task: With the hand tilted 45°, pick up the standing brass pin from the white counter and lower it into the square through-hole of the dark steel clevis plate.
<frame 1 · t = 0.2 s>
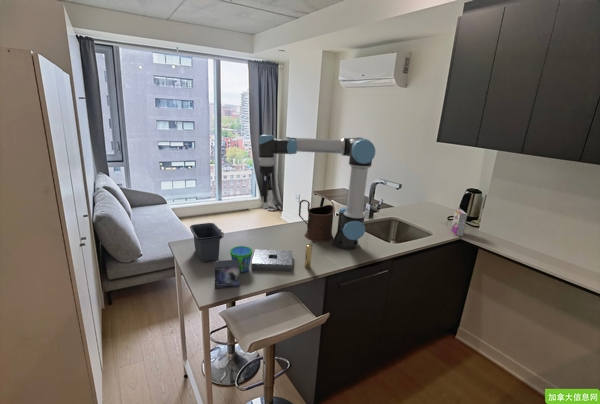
hand: (267, 204, 163), 27 cm above the worktop, tool pointing down, fingers open, 13 cm apart
small box: (227, 284, 136), on the worktop
candy bar box: (456, 233, 217), on the worktop
brown metal pitcher: (315, 237, 195), on the worktop
storage bin: (208, 254, 163), on the worktop
snack cup: (241, 269, 149), on the worktop
clevis plate: (272, 262, 157), on the worktop
brass pin: (307, 267, 155), on the worktop
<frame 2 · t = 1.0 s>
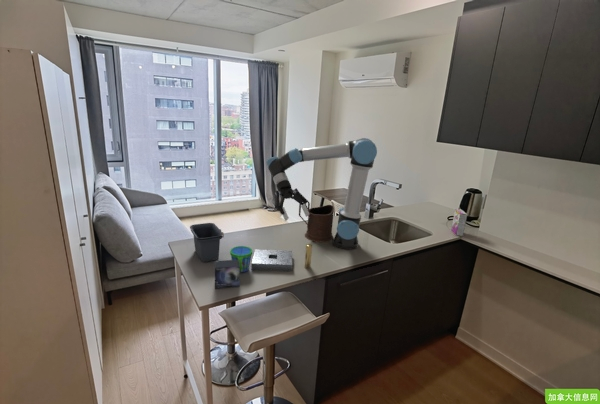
hand: (297, 217, 157), 24 cm above the worktop, tool tilted 45°, fingers open, 13 cm apart
nothing on the worktop moved.
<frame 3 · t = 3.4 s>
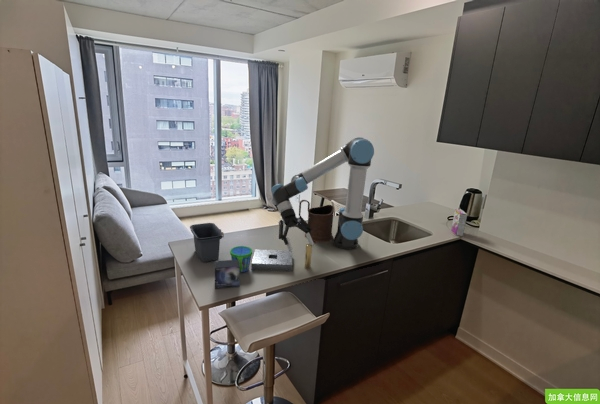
hand: (301, 247, 155), 9 cm above the worktop, tool tilted 45°, fingers open, 13 cm apart
nothing on the worktop moved.
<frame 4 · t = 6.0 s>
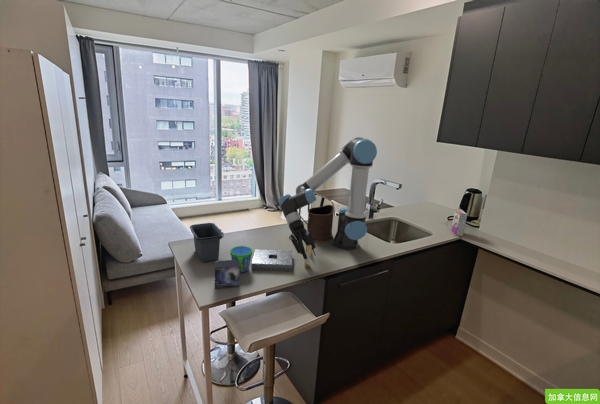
hand: (312, 263, 151), 4 cm above the worktop, tool tilted 45°, fingers closed on brass pin, 3 cm apart
brass pin: (307, 267, 155), on the worktop, touching gripper
everything else where it was.
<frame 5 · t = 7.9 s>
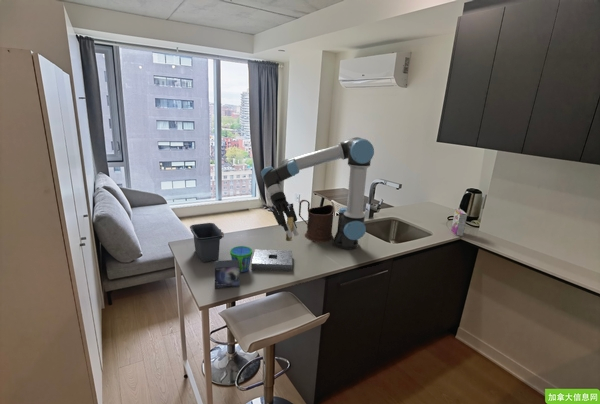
hand: (293, 235, 148), 18 cm above the worktop, tool tilted 45°, fingers closed on brass pin, 3 cm apart
brass pin: (288, 239, 152), point 14 cm above the worktop, touching gripper
everything else where it was.
when the fingers open (6 cm above the worktop, at t = 10.1 s): brass pin drops 2 cm, resting in clevis plate.
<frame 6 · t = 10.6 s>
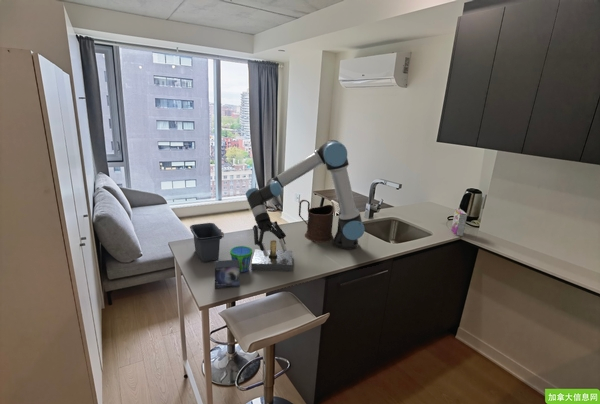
hand: (276, 253, 153), 7 cm above the worktop, tool tilted 45°, fingers open, 10 cm apart
brass pin: (272, 262, 157), resting in clevis plate
everything else where it was.
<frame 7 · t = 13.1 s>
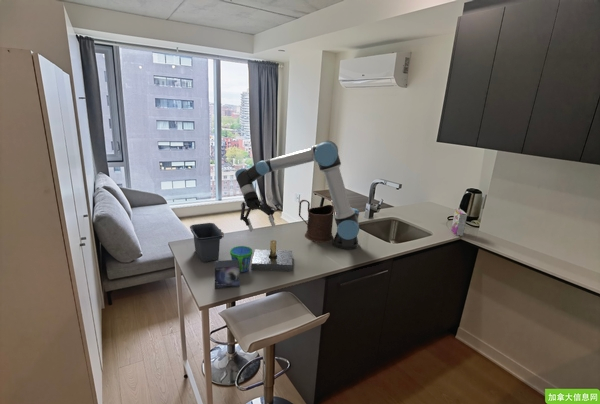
hand: (263, 228, 161), 16 cm above the worktop, tool tilted 45°, fingers open, 13 cm apart
nothing on the worktop moved.
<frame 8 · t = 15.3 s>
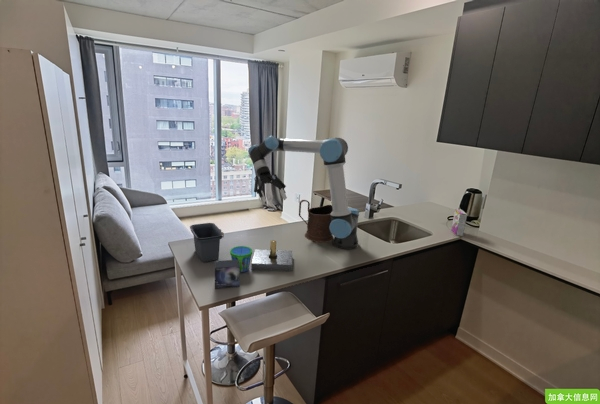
hand: (275, 200, 170), 28 cm above the worktop, tool tilted 45°, fingers open, 13 cm apart
nothing on the worktop moved.
at the end: brass pin 0.0 cm off-centre on the clevis plate, point 0.0 cm above the clevis plate's base; brass pin tilted 0°; the gripper is holding nothing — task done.
